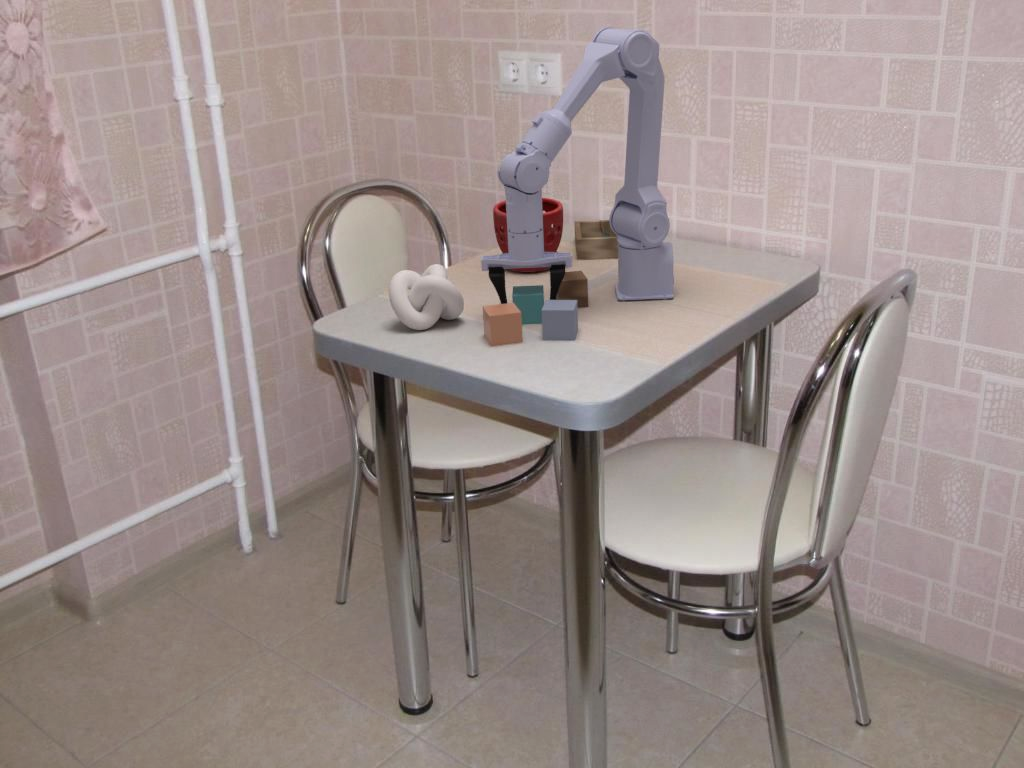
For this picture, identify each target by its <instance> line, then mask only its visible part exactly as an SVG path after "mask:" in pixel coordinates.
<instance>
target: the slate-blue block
mask: <svg viewBox="0 0 1024 768" xmlns="http://www.w3.org/2000/svg"><path fill="white" fill-rule="evenodd" d="M578 310H579V308H578V307H577V300H550V299H545V300H544V305H543V308H542V310H541V311H542V324H541V327H542V328H541V331H542V333H541V334H542V341H576V338H577V334H578V331H579V319H578V318H579V317H578V315H579V313H578V312H579V311H578Z"/></svg>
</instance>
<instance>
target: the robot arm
mask: <svg viewBox="0 0 1024 768" xmlns="http://www.w3.org/2000/svg"><path fill="white" fill-rule="evenodd" d="M659 57H660V43H659V42H658V41H657V40H656V39H655V38H654V37H653V35H651V34H650V32H648V31H646V30H644V29H640V28H639V29H623V28H616V27H611V26H607V27H603V28H601V29H599V30H598V31H597V32H596V33H595V34H594V36H593V38H592V41H591V42H589V43H588V44H587V45H586V47H585V49H584V54H583V57H582V60H581V62H580V64H579V65H578V67H577V69H576V70H575V72H574V73H573V75H572V77H571V79H570V80H569V82H568V83H567V86H566V87H565V89H564V90H563V92H562V93H561V95H560V97H559V99H558V100H557V102H556V104H555V105H554V107H553V108H552V109H549V110H545V111H542V112H540V114H539V115H538V114H537V115H535V116H534V118H533V119H532V121H531V123H532V126H531V127H530V129H529V130H528V131H527V133H526V135H525V136H524V137H523V138H522V141H520V142H517V144H516V145H515V147H514V148H515V151H512V152H511V153H508V154H507V155H506V156H505V157H504V158H503V159H502V161H501V163H500V167H499V170H497V171H496V174H497V178H498V180H499V182H500V183H501V184H502V186H503V187H504V194H505V200H506V213H507V232H508V253H505V254H502V253H499V254H498V253H497V254H493V255H491V254H490V255H482V256H481V259H480V264H481V271H482V272H485V271H487V272H488V278H489V280H490V282H491V283H492V286H493V287H494V289H495V291H496V293H497V296H498V298H499V301H500V304H506V303H508V298H507V297H508V296H507V292H506V291H507V290H506V269H507V270H510V268H536V267H550V269H549V276H550V277H549V278H550V279H549V281H550V282H549V283H550V288H549V289H550V291H549V292H550V293H549V300H556V297H557V293H558V290H559V287H560V285H561V282H562V280H563V278H564V276H565V272H566V268H573V258H572V257H573V256H572V254H573V253H572V252H559V251H557V252H544V237H543V213H544V211H542V198H543V192H542V191H543V190H542V189H543V188H544V186H546V185H547V184H548V183H549V182H548V181H549V178H550V168H551V167H552V163H553V162H554V160H555V158H556V157H557V156H558V154H559V153H560V151H561V150H562V149H563V147H564V146H565V144H566V143H567V141H568V140H569V138H570V136H572V122H573V120H574V118H575V117H576V116H577V115H578V114H579V112H580V111H581V109H583V108H584V106H585V104H586V103H587V102H588V101H589V99H590V98H591V97H592V95H594V93H595V92H596V91H597V89H598V88H599V87H600V86H601V84H603V83H604V82H608V81H612V80H615V79H619V80H620V81H622V82H623V84H624V85H625V86H627V88H628V90H629V98H628V111H627V112H628V113H627V114H628V115H627V130H626V131H627V132H626V148H625V150H626V151H625V167H624V182H623V183H624V184H623V186H622V187H621V188H620V189H619V190H618V191H617V192H616V194H615V196H614V197H615V198H614V204H613V207H612V209H611V211H610V214H609V217H608V218H609V219H608V220H609V223H610V227H611V229H612V231H613V232H614V233H615V234H616V238H617V241H618V258H617V266H618V267H617V273H618V274H617V276H618V280H617V281H618V283H616V284H614V289H615V294H616V299H617V300H618V301H638V300H642V301H643V300H664V299H665V300H668V299H669V300H670V299H674V298H675V297H674V284H675V275H674V264H675V263H674V249H673V243H672V242H670V241H669V242H667V241H665V240H666V238H667V236H668V235H669V231H670V225H671V223H670V218H669V216H668V213H667V203H668V202H667V201H666V198H665V197H664V195H663V194H662V192H661V191H660V189H659V188H658V181H659V180H658V178H659V166H660V151H661V150H660V149H661V137H662V136H661V135H662V126H663V125H662V122H663V109H664V108H663V107H664V95H665V94H664V91H665V81H666V80H665V74H664V69H663V67H662V64H661V60H660V58H659Z"/></svg>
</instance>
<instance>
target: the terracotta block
mask: <svg viewBox="0 0 1024 768" xmlns="http://www.w3.org/2000/svg"><path fill="white" fill-rule="evenodd" d="M482 319H483V322H482V323H483V336H484V338H485V339H486V341H487V343H488V344H489V345H490V347H497V346H504V345H513V344H519V343H520V344H521V343H523V342H524V341H523V324H522V318H521V311H520V310H519V309H518V308H517V306H516V305H515V304H514V303H513V302H507V303H506V304H501V303H499V304H491V305H483V306H482Z"/></svg>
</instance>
